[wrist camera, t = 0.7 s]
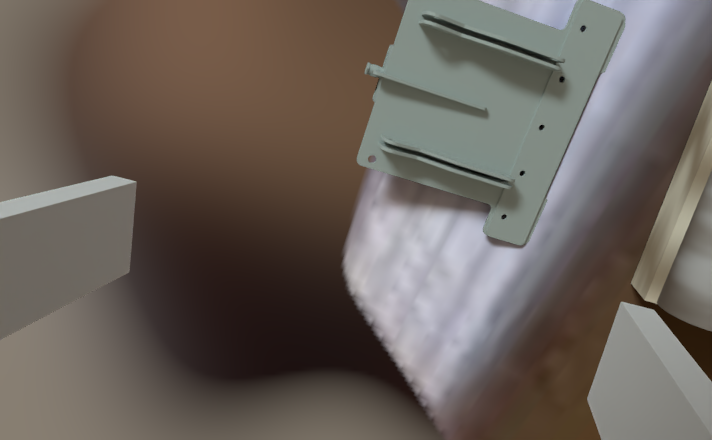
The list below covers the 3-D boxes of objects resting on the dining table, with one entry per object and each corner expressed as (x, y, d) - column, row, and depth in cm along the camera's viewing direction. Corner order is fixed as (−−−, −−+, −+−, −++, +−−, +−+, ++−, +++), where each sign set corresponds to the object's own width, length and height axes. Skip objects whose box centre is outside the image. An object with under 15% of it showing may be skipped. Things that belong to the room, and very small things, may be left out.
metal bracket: (333, 197, 32) (419, -72, 28) (331, 174, 38) (403, -54, 34) (550, 261, 34) (661, 20, 30) (519, 230, 40) (608, 23, 36)
